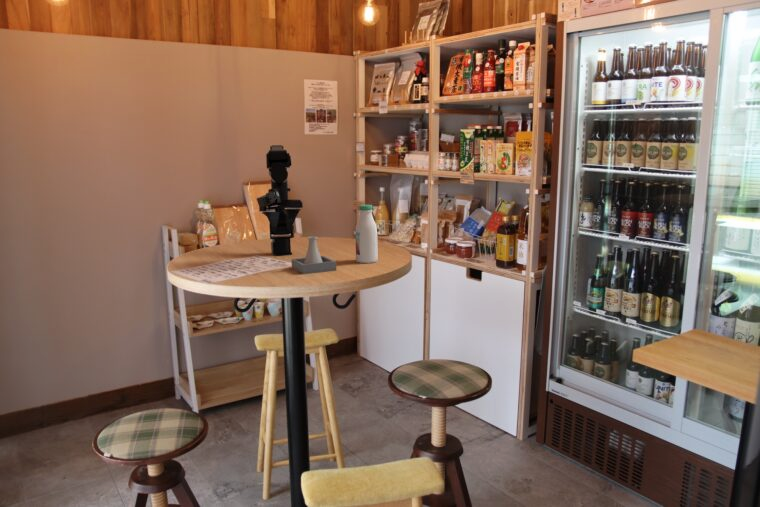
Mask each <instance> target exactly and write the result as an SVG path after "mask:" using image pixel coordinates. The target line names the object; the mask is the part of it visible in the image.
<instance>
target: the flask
mask: <svg viewBox="0 0 760 507" xmlns="http://www.w3.org/2000/svg"><path fill="white" fill-rule="evenodd" d="M307 239H308V247H307V251H306V255H305V257H304V258H305V260H304V264H312V263H321V262H323V261H322V259H321V256H322V255H321V253H320V250H319V249H318V243H317V241H318V236H308V237H307Z"/></svg>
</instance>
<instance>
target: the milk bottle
mask: <svg viewBox="0 0 760 507" xmlns="http://www.w3.org/2000/svg"><path fill="white" fill-rule="evenodd" d="M358 211H359V217H358V220H357V223H356V225H355V261H356V262H357V263H360V264H372V263H376V262H378V260H379V259H378V258H379V256H378V254H379V253H378V248H379V247H378V246H379V245H378V244H379V243H378V228H377V223H376V222H375V219H374V217H373V205H372V204H360V205H359V207H358Z"/></svg>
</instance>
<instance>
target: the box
mask: <svg viewBox="0 0 760 507" xmlns="http://www.w3.org/2000/svg"><path fill="white" fill-rule="evenodd" d="M320 256H321V259H322V261H323V262H321V263H312V264H304V260H305V257H299V258H292V259H290V260H291V268H292V269H293V270H295V271H297V272H298V273H301V275H306V274H307V275H309V274H314V273H315V274H317V273H325V272H333V271H337V261H336V260H333V259H331V258H329V257H327V256H325V255H320Z"/></svg>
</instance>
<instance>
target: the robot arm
mask: <svg viewBox="0 0 760 507" xmlns="http://www.w3.org/2000/svg"><path fill="white" fill-rule="evenodd" d="M265 158H266V159H265V160H266V169H268V175H269V176H270V189H269V188H268V192H266V193H265V194H264V195H262V196H259V197H256V201H257V204H258V207H259V208H258V209H259V210H258V211H259V212H261V214H262V215H264V216H265V217H266V218H267V220H268V222H269V223H268V224H269V240H272V241H271V242H270V249H271V254H272V255H275V256H277V257H278V256H287V255H293V252H292V251H291V249H292V247H291V245H292V244H291V239H293V238H294V237H295V228H294V224H295V221H296V219H297V217H298V214H299V212H300V211H301V209H303V208H304V206H303V201H302V200H301V199H289V192H291V188H290V187H288V185H289V183H288V182H289V181H288V178H289V171H288V170H287V169H290V168H291V166H292V159H291V158H292V156H291V155H290V153H289V152H288V151H287V149H284V145H282V144H274V145H270V148H269V150H268V152H267V153H266V154H265Z"/></svg>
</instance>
